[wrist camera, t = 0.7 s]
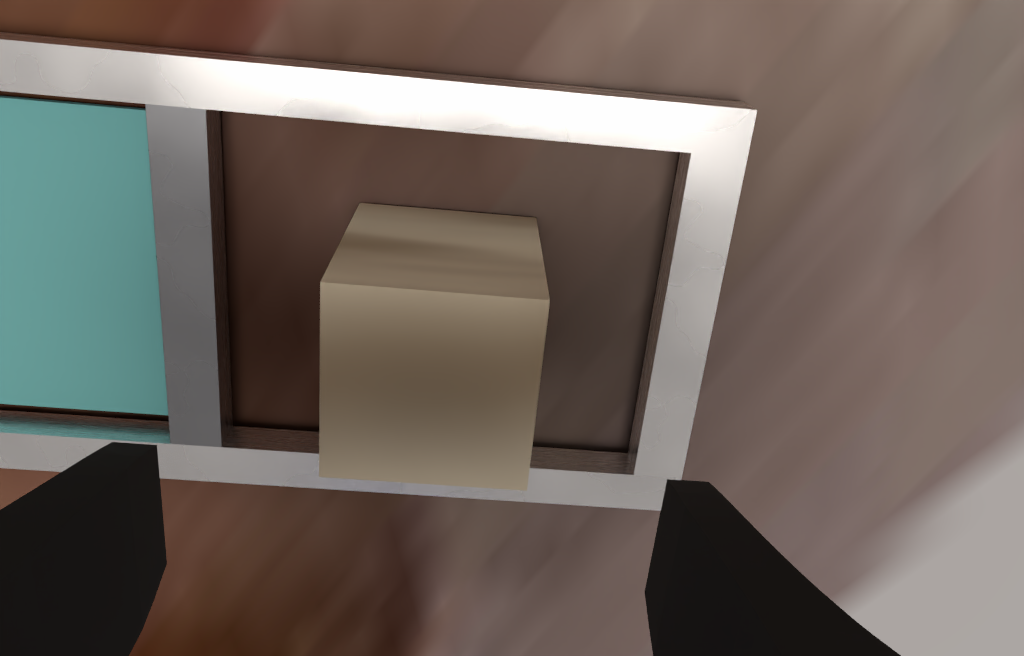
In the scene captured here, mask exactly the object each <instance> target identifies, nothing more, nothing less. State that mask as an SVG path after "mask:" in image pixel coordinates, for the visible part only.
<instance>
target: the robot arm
mask: <svg viewBox="0 0 1024 656" xmlns="http://www.w3.org/2000/svg"><path fill="white" fill-rule="evenodd" d="M166 564H167V560H166V548H165V536H164V524H163V512H162V500H161V488H160V476H159V464H158V451H157V445H150V444H135V443H120V442H111V443H110V444H108V445H106V446H104V447H102V448H100V449H99V450H97V451H95V452H93V453H92V454H90V455H88V456H87V457H85V458H83V459H82V460H80V461H79V462H77V463H75V464H74V465H72V466H71V467H69V468H67V469H66V470H64V471H63V472H61V473H59V474H58V475H56V476H55V477H53V478H51V479H50V480H48V481H47V482H45V483H43V484H42V485H40V486H39V487H37V488H35V489H34V490H32V491H31V492H29V493H27V494H26V495H24V496H22V497H21V498H19V499H17V500H16V501H14V502H13V503H11V504H9V505H8V506H6V507H4V508H3V509H1V510H0V656H129V654H130V652H131V650H132V649H133V647H134V645H135V643H136V641H137V639H138V637H139V635H140V633H141V631H142V629H143V627H144V624H145V622H146V619H147V616H148V614H149V611H150V609H151V606H152V603H153V601H154V598H155V595H156V592H157V590H158V587H159V584H160V581H161V578H162V575H163V573H164V570H165V567H166ZM645 598H646V606H647V614H648V622H649V629H650V636H651V643H652V650H653V656H901V655H899V654H898V653H897V652H895V651H894V650H892V649H891V648H890V647H888V646H887V645H886V644H884V643H883V642H882V641H880V640H879V639H878V638H876V637H875V636H873V635H872V634H871V633H870V632H869V631H867V630H866V629H865V628H863V627H862V626H861V625H860V624H859V623H857V622H856V621H855V620H854V619H852V618H851V617H850V616H849V615H848V614H847V613H846V612H844V611H843V610H842V609H841V608H840V607H839V606H837V605H836V604H835V603H834V602H833V601H832V600H830V599H829V598H828V597H827V596H826V595H825V594H823V593H822V592H821V591H820V590H819V589H818V588H817V587H816V586H814V585H813V584H812V583H811V582H810V581H809V580H808V579H807V578H806V577H805V576H804V575H802V574H801V573H800V572H799V571H798V570H797V569H796V568H795V567H794V566H793V565H792V564H791V563H790V562H789V561H788V560H787V559H786V558H785V557H784V556H782V555H781V554H780V553H779V552H778V551H777V550H776V549H775V548H774V547H773V546H772V545H771V544H770V543H769V542H768V541H767V540H766V539H765V538H764V537H763V536H762V535H761V534H760V533H759V532H758V531H757V530H756V529H755V528H754V527H753V526H752V525H751V524H750V523H749V522H748V521H747V520H746V519H745V518H744V516H743V515H742V514H741V513H740V512H739V511H738V510H737V509H736V508H735V507H734V506H733V505H732V504H731V503H730V502H729V501H728V500H727V499H726V498H725V497H724V496H723V495H722V494H721V493H720V492H719V491H718V490H717V489H716V488H715V487H714V486H713V485H711V484H710V483H709V482H700V481H685V480H670V479H667V482H666V487H665V492H664V497H663V502H662V507H661V513H660V518H659V523H658V528H657V533H656V538H655V543H654V548H653V553H652V558H651V563H650V568H649V573H648V578H647V583H646V588H645Z"/></svg>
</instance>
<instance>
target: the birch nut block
mask: <svg viewBox="0 0 1024 656" xmlns="http://www.w3.org/2000/svg"><path fill="white" fill-rule="evenodd" d="M549 305H550V297H549V291H548V285H547V279H546V273H545V267H544V261H543V255H542V249H541V243H540V237H539V231H538V225H537V219H536V218H533V217H522V216H510V215H498V214H486V213H475V212H463V211H451V210H439V209H428V208H416V207H404V206H392V205H380V204H369V203H359V205H358V207H357V209H356V211H355V213H354V215H353V217H352V219H351V221H350V223H349V225H348V227H347V229H346V231H345V233H344V235H343V237H342V239H341V241H340V243H339V245H338V247H337V249H336V251H335V253H334V255H333V257H332V259H331V261H330V263H329V265H328V267H327V269H326V272H325V274H324V276H323V278H322V280H321V282H320V398H319V477H326V478H342V479H357V480H372V481H387V482H402V483H417V484H432V485H447V486H462V487H477V488H492V489H508V490H523V491H527V486H528V478H529V470H530V461H531V453H532V445H533V437H534V428H535V420H536V412H537V404H538V395H539V387H540V379H541V371H542V362H543V354H544V346H545V338H546V329H547V321H548V313H549Z"/></svg>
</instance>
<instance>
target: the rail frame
mask: <svg viewBox="0 0 1024 656" xmlns="http://www.w3.org/2000/svg"><path fill="white" fill-rule="evenodd" d="M0 91H7V92H18V93H29V94H40V95H52V96H63V97H74V98H85V99H96V100H107V101H118V102H129V103H140V104H145V107H146V109H145V108H134V107H123V106H111V105H100V104H89V103H78V102H67V101H56V100H45V99H34V98H22V97H11V96H0V404H11V405H26V406H40V407H55V408H69V409H84V410H98V411H112V412H127V413H141V414H156V415H168V416H169V422H167V421H152V420H138V419H123V418H109V417H94V416H80V415H65V414H50V413H36V412H21V411H7V410H0V468H10V469H25V470H41V471H56V472H63V471H64V470H66V469H67V468H69V467H71V466H72V465H74V464H75V463H77V462H79V461H80V460H82V459H83V458H85V457H87V456H88V455H90V454H92V453H93V452H95V451H97V450H99V449H100V448H102V447H104V446H106V445H108V444H110V443H111V442H120V443H135V444H150V445H157V451H158V464H159V476H160V478H164V479H179V480H195V481H210V482H226V483H241V484H256V485H272V486H287V487H303V488H318V489H333V490H349V491H364V492H380V493H395V494H411V495H426V496H441V497H457V498H472V499H488V500H503V501H518V502H534V503H549V504H565V505H580V506H595V507H611V508H626V509H642V510H657V511H661V507H662V502H663V497H664V492H665V487H666V482H667V479H670V480H681V479H682V474H683V469H684V464H685V459H686V455H687V450H688V445H689V440H690V435H691V430H692V425H693V421H694V416H695V411H696V406H697V401H698V396H699V391H700V386H701V382H702V377H703V372H704V367H705V362H706V357H707V352H708V348H709V343H710V338H711V333H712V328H713V323H714V318H715V313H716V309H717V304H718V299H719V294H720V289H721V284H722V279H723V275H724V270H725V265H726V260H727V255H728V250H729V245H730V240H731V236H732V231H733V226H734V221H735V216H736V211H737V206H738V202H739V197H740V192H741V187H742V182H743V177H744V172H745V168H746V163H747V158H748V153H749V148H750V143H751V138H752V133H753V129H754V124H755V119H756V114H757V110H756V109H755V108H753V107H752V106H750V105H749V104H747V103H745V102H741V101H730V100H720V99H709V98H698V97H688V96H677V95H666V94H656V93H645V92H634V91H624V90H613V89H603V88H592V87H581V86H571V85H560V84H549V83H539V82H528V81H517V80H507V79H496V78H486V77H475V76H464V75H454V74H443V73H432V72H422V71H411V70H401V69H390V68H379V67H369V66H358V65H347V64H337V63H326V62H315V61H305V60H294V59H284V58H273V57H262V56H252V55H241V54H230V53H220V52H209V51H199V50H188V49H177V48H167V47H156V46H145V45H135V44H124V43H113V42H103V41H92V40H82V39H71V38H60V37H50V36H39V35H28V34H18V33H7V32H0ZM220 111H229V112H240V113H251V114H262V115H274V116H285V117H296V118H307V119H318V120H329V121H340V122H351V123H362V124H373V125H385V126H396V127H407V128H418V129H429V130H440V131H451V132H462V133H473V134H484V135H496V136H507V137H518V138H529V139H540V140H551V141H562V142H573V143H584V144H595V145H607V146H618V147H629V148H640V149H651V150H662V151H673V152H680V155H679V161H678V167H677V173H676V178H675V184H674V190H673V196H672V201H671V207H670V213H669V219H668V225H667V230H666V236H665V242H664V248H663V253H662V259H661V265H660V271H659V276H658V282H657V288H656V294H655V299H654V305H653V311H652V317H651V323H650V328H649V334H648V340H647V346H646V351H645V357H644V363H643V369H642V374H641V380H640V386H639V392H638V397H637V403H636V409H635V415H634V420H633V426H632V432H631V438H630V444H629V449H628V453H618V452H603V451H589V450H574V449H560V448H545V447H532V453H531V461H530V470H529V478H528V486H527V491H523V490H508V489H492V488H477V487H462V486H447V485H432V484H417V483H402V482H387V481H372V480H357V479H342V478H326V477H319V432H312V431H298V430H283V429H269V428H254V427H240V426H233V418H232V393H231V368H230V343H229V319H228V294H227V269H226V244H225V220H224V195H223V170H222V145H221V121H220Z"/></svg>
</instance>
